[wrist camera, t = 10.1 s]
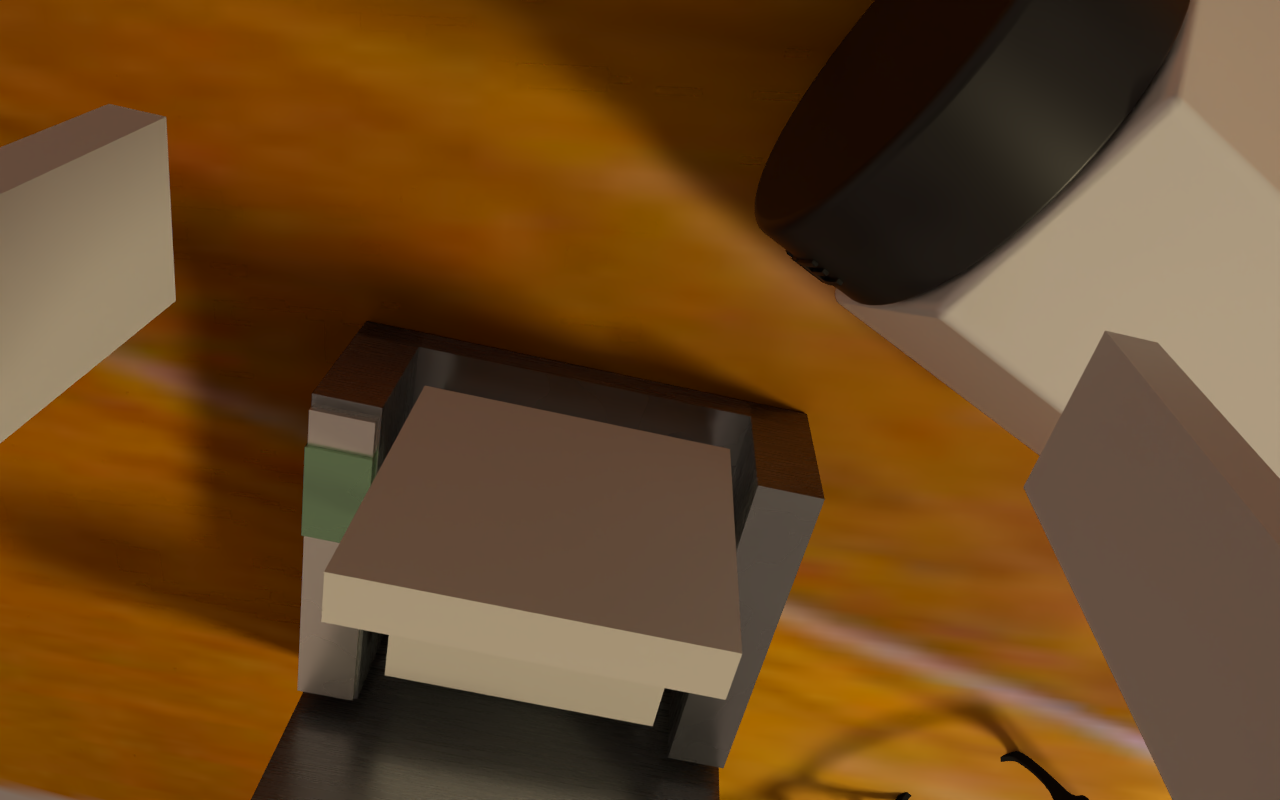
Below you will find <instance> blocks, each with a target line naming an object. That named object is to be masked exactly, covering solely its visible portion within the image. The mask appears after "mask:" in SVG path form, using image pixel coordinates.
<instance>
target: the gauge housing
mask: <svg viewBox="0 0 1280 800" xmlns="http://www.w3.org/2000/svg"><path fill="white" fill-rule="evenodd" d="M424 386H430V387H434V388H439V389H444V390H449V391H454V392H459V393H463V394H468V395H473V396H478V397H483V398H487V399H492V400H497V401H502V402H507V403H511V404H516V405H521V406H526V407H531V408H535V409H540V410H545V411H550V412H555V413H559V414H564V415H569V416H574V417H579V418H583V419H588V420H593V421H598V422H603V423H607V424H612V425H617V426H622V427H627V428H631V429H636V430H641V431H646V432H651V433H655V434H660V435H665V436H670V437H675V438H679V439H684V440H689V441H694V442H699V443H703V444H708V445H713V446H718V447H723V448H727V449H730V458H731V474H732V491H733V507H734V524H735V541H736V557H737V574H738V590H739V607H740V624H741V640H742V656H741V659H740V662H739V664H738V667H737V670H736V673H735V675H734V678H733V681H732V684H731V687H730V689H729V692H728V695H727V698H726V700H724V699H719V698H713V697H708V696H703V695H698V694H693V693H687V692H682V691H677V690H672V689H667V688H665V689H664V692H663V695H662V698H661V701H660V705H659V708H658V711H657V714H656V717H655V721H654V724H653V726H648V725H643V724H638V723H632V722H627V721H622V720H617V719H611V718H606V717H601V716H596V715H590V714H585V713H580V712H575V711H569V710H564V709H559V708H554V707H548V706H543V705H538V704H533V703H527V702H522V701H517V700H512V699H506V698H501V697H496V696H491V695H485V694H480V693H475V692H470V691H464V690H459V689H454V688H449V687H443V686H438V685H433V684H428V683H422V682H417V681H412V680H407V679H401V678H396V677H391V676H386V675H385V667H386V657H387V648H388V638H389V635H387V634H382V633H377V632H371V631H366V630H361V629H356V628H351V627H345V626H340V625H335V624H330V623H325V622H321V620H322V602H323V584H324V571H325V569H326V567H327V566H328V564H329V562H330V560H331V558H332V556H333V555H334V553H335V551H336V549H337V547H338V545H339V543H340V542H341V540H342V538H343V536H344V534H345V532H346V530H347V529H348V527H349V525H350V523H351V521H352V519H353V518H354V516H355V514H356V512H357V510H358V508H359V506H360V505H361V503H362V501H363V499H364V497H365V495H366V493H367V492H368V490H369V488H370V486H371V484H372V482H373V480H374V479H375V477H376V475H377V473H378V471H379V469H380V468H381V466H382V464H383V462H384V460H385V458H386V456H387V455H388V453H389V451H390V449H391V447H392V445H393V443H394V442H395V440H396V438H397V436H398V434H399V432H400V430H401V429H402V427H403V425H404V423H405V421H406V419H407V418H408V416H409V414H410V412H411V410H412V408H413V406H414V405H415V403H416V401H417V399H418V397H419V395H420V393H421V392H422V390H423V388H424ZM823 502H824V494H823V489H822V484H821V480H820V475H819V470H818V465H817V461H816V456H815V451H814V446H813V441H812V437H811V432H810V427H809V422H808V417H807V414H804V413H799V412H795V411H790V410H785V409H781V408H776V407H771V406H766V405H762V404H757V403H752V402H747V401H743V400H738V399H733V398H729V397H724V396H719V395H714V394H710V393H705V392H700V391H695V390H691V389H686V388H681V387H676V386H672V385H667V384H662V383H658V382H653V381H648V380H643V379H639V378H634V377H629V376H624V375H620V374H615V373H610V372H605V371H601V370H596V369H591V368H587V367H582V366H577V365H572V364H568V363H563V362H558V361H553V360H549V359H544V358H539V357H535V356H530V355H525V354H520V353H516V352H511V351H506V350H501V349H497V348H492V347H487V346H482V345H478V344H473V343H468V342H464V341H459V340H454V339H449V338H445V337H440V336H435V335H430V334H426V333H421V332H416V331H411V330H407V329H402V328H397V327H393V326H388V325H383V324H378V323H374V322H369V321H366V322H365V324H364V325H363V326H362V328H361V329H360V330H359V332H358V333H357V334H356V336H355V337H354V338H353V340H352V341H351V342H350V344H349V345H348V346H347V348H346V349H345V350H344V352H343V353H342V354H341V356H340V357H339V358H338V360H337V361H336V362H335V364H334V365H333V366H332V368H331V369H330V370H329V372H328V373H327V374H326V376H325V377H324V378H323V380H322V381H321V382H320V384H319V385H318V386H317V388H316V389H315V390H314V392H313V393H312V406H311V408H310V409H309V425H308V443H307V444H306V446H305V454H304V479H303V505H302V530H301V536H304V546H303V571H302V595H301V620H300V644H299V668H298V690H299V691H304V692H303V694H302V696H301V698H300V700H299V702H298V704H297V706H296V708H295V710H294V712H293V714H292V716H291V718H290V720H289V722H288V725H287V727H286V729H285V731H284V733H283V735H282V737H281V739H280V741H279V743H278V745H277V747H276V749H275V751H274V753H273V755H272V757H271V760H270V762H269V764H268V766H267V768H266V770H265V772H264V774H263V776H262V778H261V780H260V782H259V784H258V786H257V788H256V790H255V792H254V795H253V797H252V799H251V800H719V767H720V768H723V767H724V765H725V762H726V759H727V757H728V754H729V751H730V749H731V746H732V743H733V741H734V738H735V735H736V733H737V730H738V727H739V725H740V722H741V720H742V717H743V714H744V712H745V709H746V706H747V704H748V701H749V698H750V696H751V693H752V690H753V688H754V685H755V682H756V680H757V677H758V674H759V672H760V669H761V666H762V664H763V661H764V659H765V656H766V653H767V651H768V648H769V645H770V643H771V640H772V637H773V635H774V632H775V629H776V627H777V624H778V621H779V619H780V616H781V613H782V611H783V608H784V605H785V603H786V600H787V598H788V595H789V592H790V590H791V587H792V584H793V582H794V579H795V576H796V574H797V571H798V568H799V566H800V563H801V560H802V558H803V555H804V552H805V550H806V547H807V544H808V542H809V539H810V537H811V534H812V531H813V529H814V526H815V523H816V521H817V518H818V515H819V513H820V510H821V507H822V505H823Z"/></svg>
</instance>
